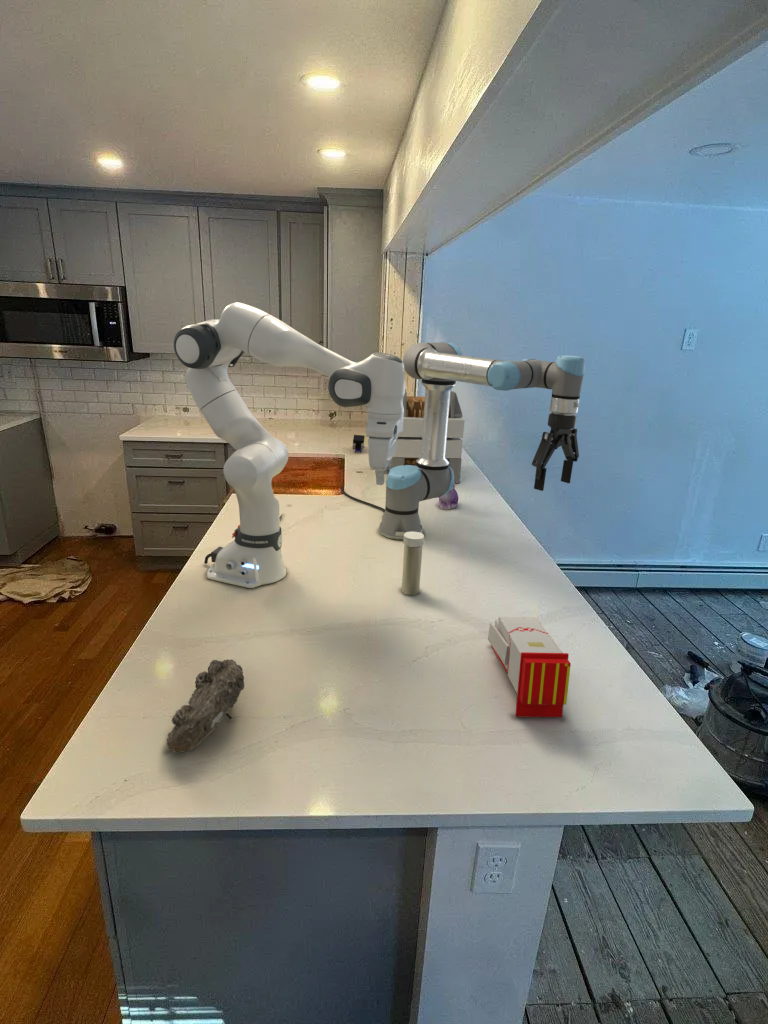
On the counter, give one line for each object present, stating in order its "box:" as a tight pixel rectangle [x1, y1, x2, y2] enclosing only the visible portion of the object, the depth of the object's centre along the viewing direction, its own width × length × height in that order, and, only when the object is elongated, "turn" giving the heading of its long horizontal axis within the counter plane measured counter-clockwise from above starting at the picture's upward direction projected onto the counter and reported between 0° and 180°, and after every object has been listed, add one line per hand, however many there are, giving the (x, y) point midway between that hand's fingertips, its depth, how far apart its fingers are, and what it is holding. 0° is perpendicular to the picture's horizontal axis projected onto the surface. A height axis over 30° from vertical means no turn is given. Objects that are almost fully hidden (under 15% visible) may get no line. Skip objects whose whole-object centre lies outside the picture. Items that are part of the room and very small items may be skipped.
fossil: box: [166, 658, 245, 754], centre depth 106 cm, size 22×10×15 cm
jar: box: [401, 543, 424, 596], centre depth 157 cm, size 5×5×16 cm
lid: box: [402, 532, 425, 547], centre depth 155 cm, size 6×6×2 cm
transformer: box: [390, 389, 465, 484], centre depth 268 cm, size 34×33×41 cm
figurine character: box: [351, 434, 366, 454], centre depth 311 cm, size 7×8×15 cm
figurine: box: [437, 470, 459, 510], centre depth 228 cm, size 9×10×15 cm
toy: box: [487, 616, 572, 718], centre depth 123 cm, size 12×13×30 cm
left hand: (383, 478), depth 141 cm, fingers open, 8 cm apart
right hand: (552, 485), depth 166 cm, fingers open, 13 cm apart
